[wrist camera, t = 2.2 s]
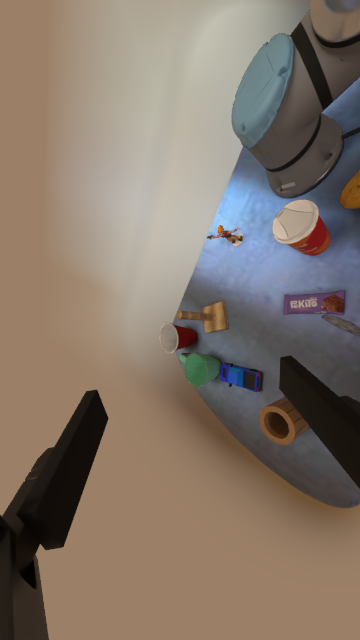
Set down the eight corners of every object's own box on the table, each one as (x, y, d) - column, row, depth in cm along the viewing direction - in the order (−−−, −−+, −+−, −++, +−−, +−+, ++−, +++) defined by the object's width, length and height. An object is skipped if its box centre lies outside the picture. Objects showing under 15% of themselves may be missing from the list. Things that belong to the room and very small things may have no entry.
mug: (231, 359, 59) (210, 362, 53) (223, 387, 61) (202, 393, 55) (200, 342, 71) (179, 343, 64) (194, 366, 72) (173, 369, 66)
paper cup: (290, 248, 48) (262, 229, 39) (317, 219, 43) (293, 189, 35) (314, 267, 43) (289, 250, 35) (347, 236, 39) (328, 208, 30)
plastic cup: (184, 352, 77) (159, 354, 69) (182, 326, 79) (157, 325, 71) (204, 350, 69) (178, 352, 61) (200, 321, 71) (175, 319, 63)
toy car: (227, 360, 61) (216, 361, 58) (263, 368, 51) (253, 371, 48) (225, 380, 61) (215, 383, 58) (262, 393, 51) (252, 397, 48)
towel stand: (225, 301, 63) (187, 295, 52) (229, 328, 61) (191, 327, 50) (205, 308, 69) (168, 304, 59) (208, 333, 68) (171, 332, 57)
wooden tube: (310, 396, 43) (290, 408, 36) (317, 430, 42) (298, 449, 35) (278, 394, 48) (256, 404, 41) (284, 423, 47) (262, 439, 40)
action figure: (219, 249, 65) (200, 241, 59) (220, 241, 65) (201, 232, 59) (251, 241, 56) (232, 230, 50) (252, 231, 56) (233, 219, 50)
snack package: (281, 314, 47) (282, 293, 47) (285, 314, 48) (286, 295, 48) (342, 314, 38) (343, 289, 38) (344, 315, 39) (345, 290, 39)
